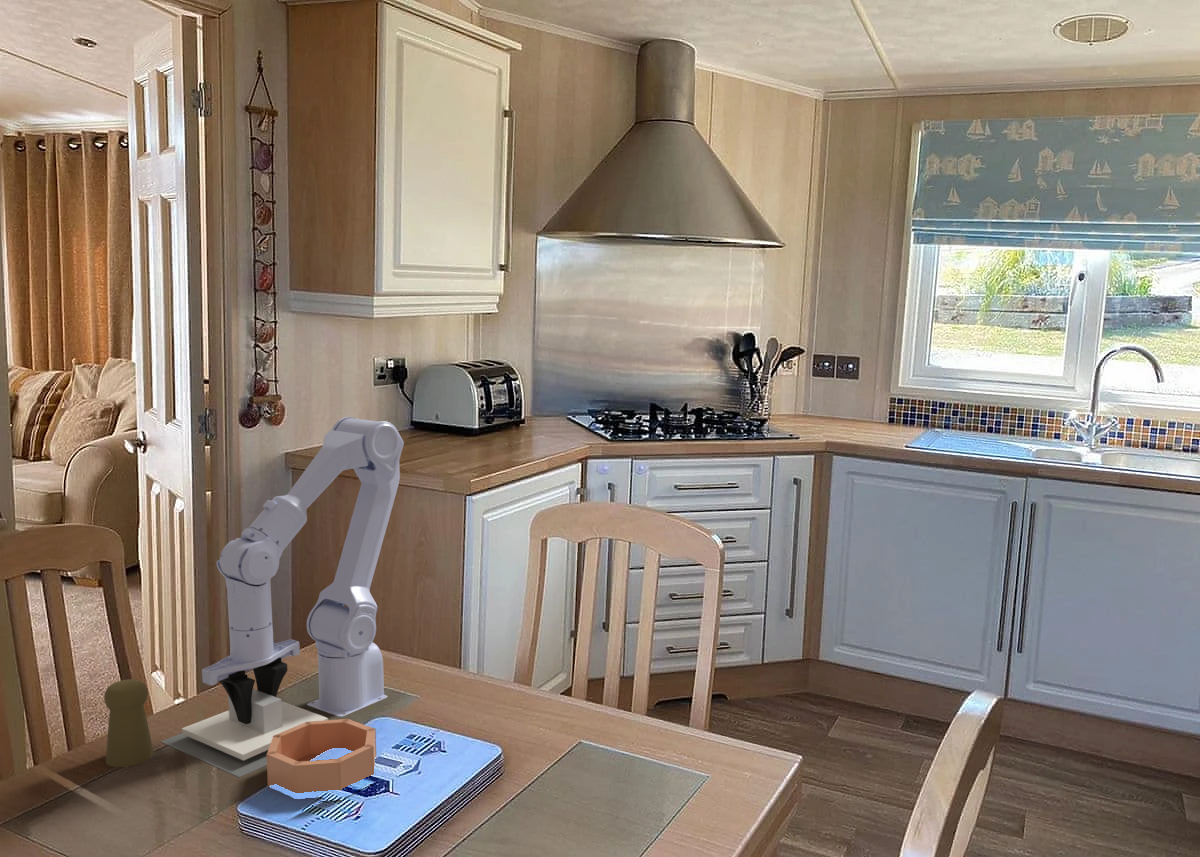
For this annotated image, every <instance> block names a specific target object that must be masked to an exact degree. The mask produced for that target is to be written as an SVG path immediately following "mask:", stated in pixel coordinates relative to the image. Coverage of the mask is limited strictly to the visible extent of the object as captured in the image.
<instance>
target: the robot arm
mask: <svg viewBox="0 0 1200 857" xmlns="http://www.w3.org/2000/svg"><path fill="white" fill-rule="evenodd" d="M404 445H405V442H404V440H403V439H402V436H401V435H400V433H399V430H398V429H397V427H396V426H395V425H394V424H393V423H391V422H389V421H385V420H384V421H383V420H381V421H380V420H379V421H377V420H370V419H362V418H361V419H360V418H355V417H353V416H345V417H342V418H340V419H339V420H337V421H336V422H335V423H334V425H333V426H332V429H330V430H329V431H328V432H327V433H326V434H325V435H324V439H323V444H322V447H321V448H320V449H319V451H318V452H317V453H316V455H315V456H314V458H313V459H312V460H311V461H310V463H309V465H308V466H307V467H306V468H305V469H304V471H303V473H302V474H301V475H300V477H299V478H298V479H297V481H296V482H295V484H294V485H293V486H292V487H291V489H290V490H289V491H288V493H287V494H284V495H276V496H274V497H273V498H272V499H271V500H270V499H267V500H266V502H264V504H263V505H262V507H263V510H262V511H261V512H260V513H259V514H258V516H257V517H256V518H255V519H254V521H252V523H251V524H250V525H249V526H248V528H244V530H242V532H241V535H240V536H241V537H236V538H235V539H232V540H230V541H229V542H227V544H226V545H224V547H223V549H222V550H221V553H220V556H219V559H218V560H217V561H215V562H216V567H217V569H218V572H219V573H220V574H221V575H222V576H223V577H224V580H225V588H226V590H227V591H226V592H227V593H226V595H227V596H226V598H227V610H228V611H227V614H228V615H227V616H228V629H229V630H228V631H229V634H228V635H229V649H230V651H229V655H228V656H226V657H224V658H222V659H220V660H219V661H217V662H215V663H213V664H211V665H209V666H207V667H204V668H202V669H201V676H202V677H201V678H202V683H203V684H205V685H208V686H210V687H211V686H214V685H217V684H218V682H219V683H220V684H221V686H222V687H223V688H224V690H225V691H226V694H227V696H228V695H229V697H230V699H231V701H232V704H233V706H234V709H235V712H236V715H237V719H238V721H239V722H241V723H244V724H249V723H251V717H252V709H251V699H252V691H253V689H254V686H255V682H256V690H258V691H260V692H263V693H266V694H269V695H271V696H274V697H277V695H278V692H279V688H280V685H281V684H282V682H283V679H284V677H285V675H286V674H287V672H288V664H287V662H284V661H283V660H282V659H285V658H287V657H288V658H289V657H290V656H291V657H295V656H299V655H300V654H301V653H300V651H301V650H300V649H301V648H300V641H298V640H294V639H292V638H289V639H286V640H282V641H280V642H279V641H278V642H274V631H273V630H274V627H273V611H272V610H273V608H272V590H271V589H272V587H271V586H272V585H271V579H272V578H273V577H274V576H275V575H276V574H277V572H278V570H279V567H280V558H281V556H283V552H284V550H285V549H286V548H287V547H288V546H289V544H290V543H291V542H292V540H294V538H295V537H296V535H297V534H298V533H299V532H300V531H301V530H302V528H303V527H304V526H305V525H306V523H307V521H308V514H307V510H308V508H309V507H310V506H311V505H312V504H313V503H314V502H315V501H316V499H318V497H319V496H320V495H321V494H322V493H323V492H324V491H325V490H326V489H327V488H328V487H329V486H330V485H331V484H332V483H333V481H334V480H335V479H336V478H337V477H338V476H340V474H341V473H342V472H343V471H347V470H352V469H353V471H354V472H355V475H356V477H357V478H358V479H359V482H360V487H359V492H358V494H357V499H356V500H355V501H356V502H355V505H354V508H353V512H352V516H351V519H350V522H349V526H348V530H347V534H346V537H345V539H344V544H343V548H342V552H341V554H340V557H339V558H340V559H339V562H338V566H337V569H336V572H335V576H334V580H333V582H332V583H331V584H329V585H328V586H326V587H325V588H324V589H323V590H321V591H320V592H319V596H318V599H317V601H316V603H315V604H314V606H313V607H312V609H311V610H310V611H309V614H308V616H307V619H306V631H307V633H308V635H309V636H310V638H311V639H312V640H313V641H314V642H315V648H316V649H317V668H318V696H319V697H318V699H315V700H313V701H310V702H308V703H307V704H306V705H307V706H308V707H312V708H314V709H317V710H320V711H322V712H324V713H325V712H326V713H328V714H330V715H332V716H333V715H334V716H336V717H341V718H342V717H345V716H347V715H349V714H352V713H354V712H356V711H359V710H361V709H363V708H366V707H368V706H370V705H373V704H375V703H377V702H379V701H382V700H384V699H387V698H388V696H389V695H386V694H385V681H384V659H383V654H382V652H381V649H380V648H379V646H378V645H377V644H376V643H374V639H375V637H376V634H377V622H376V621H377V620H376V615H377V612H378V605H377V603H376V601H375V599H374V598H373V596H372V593H371V591H370V588H371V586H372V582H373V577H374V575H375V571H376V567H377V564H378V560H379V557H380V553H381V549H382V546H383V542H384V538H385V535H386V531H387V528H388V524H389V520H390V517H391V514H392V510H393V506H394V502H395V498H396V496H397V493H398V492H397V491H398V488H399V484H400V479H401V472H400V471H401V470H400V459H401V455H402V453H403V452H402V451H403V449H404ZM345 605H346V606H345ZM250 670H252V671H253V674H254V677H255V678H254V679H253V678H250V677H249V676H248V674H247V673H246V672H247V671H250Z"/></svg>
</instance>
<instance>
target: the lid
mask: <svg viewBox="0 0 1200 857" xmlns="http://www.w3.org/2000/svg"><path fill="white" fill-rule="evenodd" d="M227 700H228V703H227V704H228V710H226V711H222V712H221V713H218V714H215V715H213V716H210V717H208V718H206V719H202V720H200V721H197V722H195V723H192V724H190V725H187V726H184V727H182V728H181V733H182V734H184V735H186V736H188V737H191V738H193V739H195V740H197V741H200V742H202V743H204V744H207V745H209V746H211V747H214V748H216V749H218V750H220V751H223V752H225V753H227V754H230V755H232V756H234V757H236V758H239V759H241V760H243V761H244V760H246V759H248V758H250V757H253V756H255V755H257V754H260V753H262V752H264V751H266V750H269V747H270V744H271V741H272V738H273V735H276V734H279V733H281V732H284V731H286V730H288V729H291V728H293V727H295V726H298V725H300V724H302V723H305V722H307V721H308V722H309V721H324V720H329V717H326V716H324V715H321V714H319V713H315V712H312V711H310V710H308V709H304V708H302V707H298V706H296V705H293V704H290V703H288V702H285V701H283V700H282V699H281V698H280V697H277V696H276V697H274V696H271V695H269V694H266V693H263V692H260V691H258V690H257V689H254V688H253V691H252V699H251V709H252V717H251V723H249V724H244V723H241V722H239V721H238V719H237V715H236V712H235V709H234V706H233V704H232V701H231V699H230V697H229V695H228V694H227Z"/></svg>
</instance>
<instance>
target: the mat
mask: <svg viewBox="0 0 1200 857" xmlns="http://www.w3.org/2000/svg"><path fill="white" fill-rule="evenodd" d="M160 743H162V744H165V745H167V746H168V747H171V748H174V749H175V750H177V751H180V752H183V754H186V755H188V756H191V757H193V758H195V759H198V760H200V761H202V762H204V763H207V764H208V765H211V766H213V767H215V768H218V769H219V770H222V771H224V772H225V773H229V774H231V775H232V776H235V777H237V778H242V777H244V776H246V775H248V774H251V773H253V772H255V771H257V770H260V769H262V768H265V767H267V756H266V754H267V753H268V750H266V751H264V752H262V753H260V754H257V755H255V756H253V757H250V758H248V759H246V760H244V761H243V760H241V759H239V758H236V757H234V756H232V755H230V754H227V753H225V752H223V751H220V750H218V749H216V748H214V747H211V746H209V745H207V744H204V743H202V742H200V741H197V740H195V739H193V738H191V737H188V736H186V735H184V734H182V732H181V733H179V734H176V735H173V736H171V737H168V738H166V739H163V740H161V741H160Z"/></svg>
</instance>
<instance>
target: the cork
mask: <svg viewBox="0 0 1200 857" xmlns="http://www.w3.org/2000/svg"><path fill="white" fill-rule="evenodd" d="M148 693H149V692H148V688H147V686H146V684H145V683H144V681H142V680H138V679H131V678H130V679H122V680H118V681H115V682H114V683H112V684H110V685H108V687H107V689H105V691H104V696H103V697H104V703H105V705H106V708H108V710H109V716H108V729H107V742H106V752H105V764H106V765H107V766H110V767H112V768H113V767H114V768H128V767H133V766H137V765H140V764H142V763H146V762H147V761H149V760H150V759H151V758H152V757H153V756H154V754H155V751H154V747H153V741H152V738H151V733H150V728H149V723H148V719H147V714H146V710H145V705H144V704H146V701H147V698H148Z"/></svg>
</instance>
